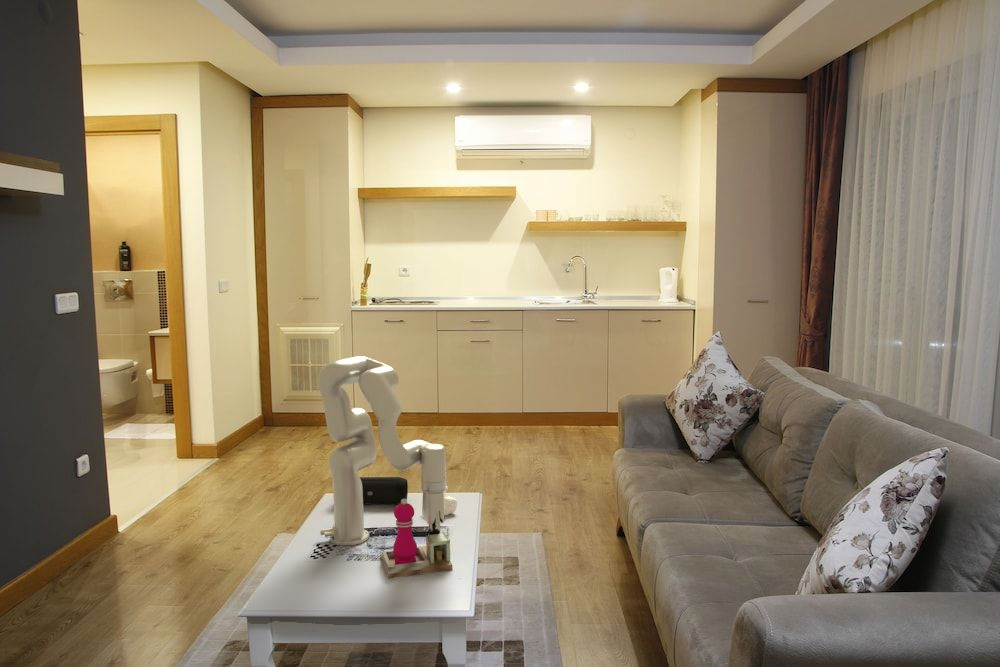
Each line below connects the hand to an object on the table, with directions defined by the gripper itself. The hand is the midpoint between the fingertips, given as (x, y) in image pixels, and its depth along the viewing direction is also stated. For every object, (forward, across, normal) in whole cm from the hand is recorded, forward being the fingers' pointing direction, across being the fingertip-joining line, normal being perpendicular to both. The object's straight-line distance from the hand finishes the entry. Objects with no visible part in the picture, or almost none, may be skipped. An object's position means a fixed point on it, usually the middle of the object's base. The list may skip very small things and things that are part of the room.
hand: (434, 541), depth 221 cm
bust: (+5, -36, +11) cm, 38 cm away
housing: (+3, +5, 0) cm, 6 cm away
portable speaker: (+6, -55, -10) cm, 56 cm away
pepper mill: (+3, +6, -10) cm, 12 cm away
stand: (+5, +3, -6) cm, 8 cm away
